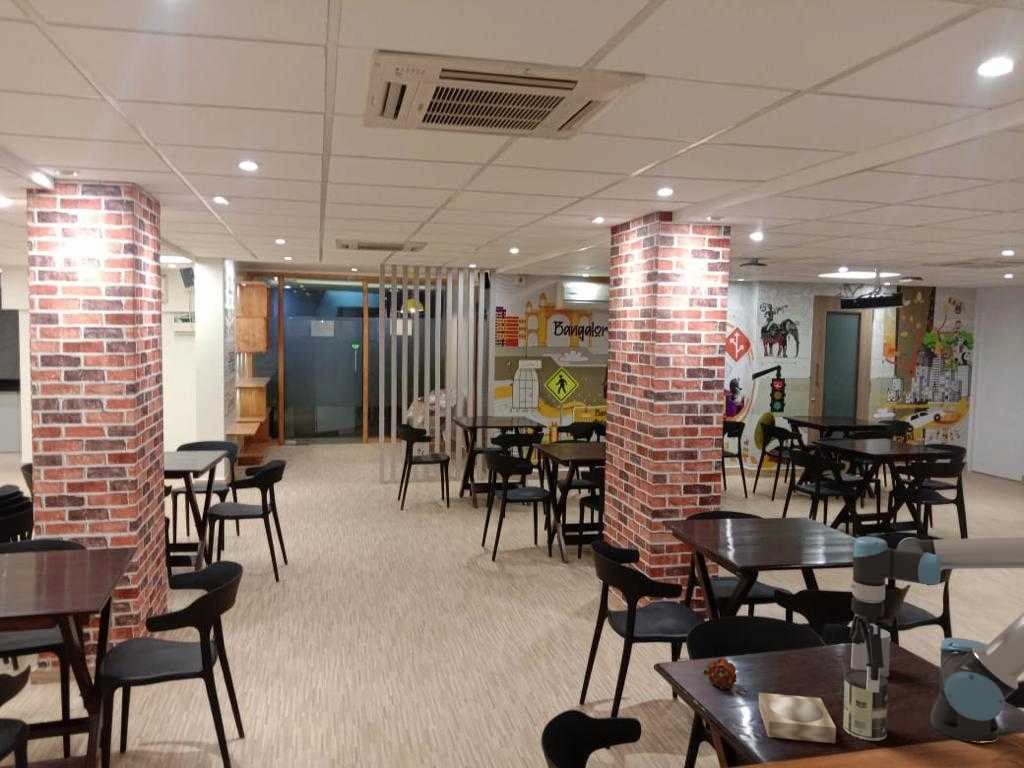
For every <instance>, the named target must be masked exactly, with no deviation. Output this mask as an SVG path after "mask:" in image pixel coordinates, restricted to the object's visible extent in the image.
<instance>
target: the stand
mask: <svg viewBox="0 0 1024 768" xmlns="http://www.w3.org/2000/svg"><path fill="white" fill-rule="evenodd" d="M758 710H759V712H760V713H759V714H760V715H761V718H762V721H763V725H764V727H765V730H766V733H767V736H768V737H769V738H775V739H776V738H779V739H786V740H787V739H789V740H797V741H807V742H819V743H830V744H836V742H837V741H836V740H837V739H836V738H837V737H836V734H837V727H836V725H835V722H833V719H832V718H831V715H830V714H829V712H828V710H827V708H826V706H825V704H824V702H823V700H822V698H821V697H812V696H811V697H810V696H801V695H789V694H779V693H778V694H777V693H767V692H766V693H764V692H758Z"/></svg>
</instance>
